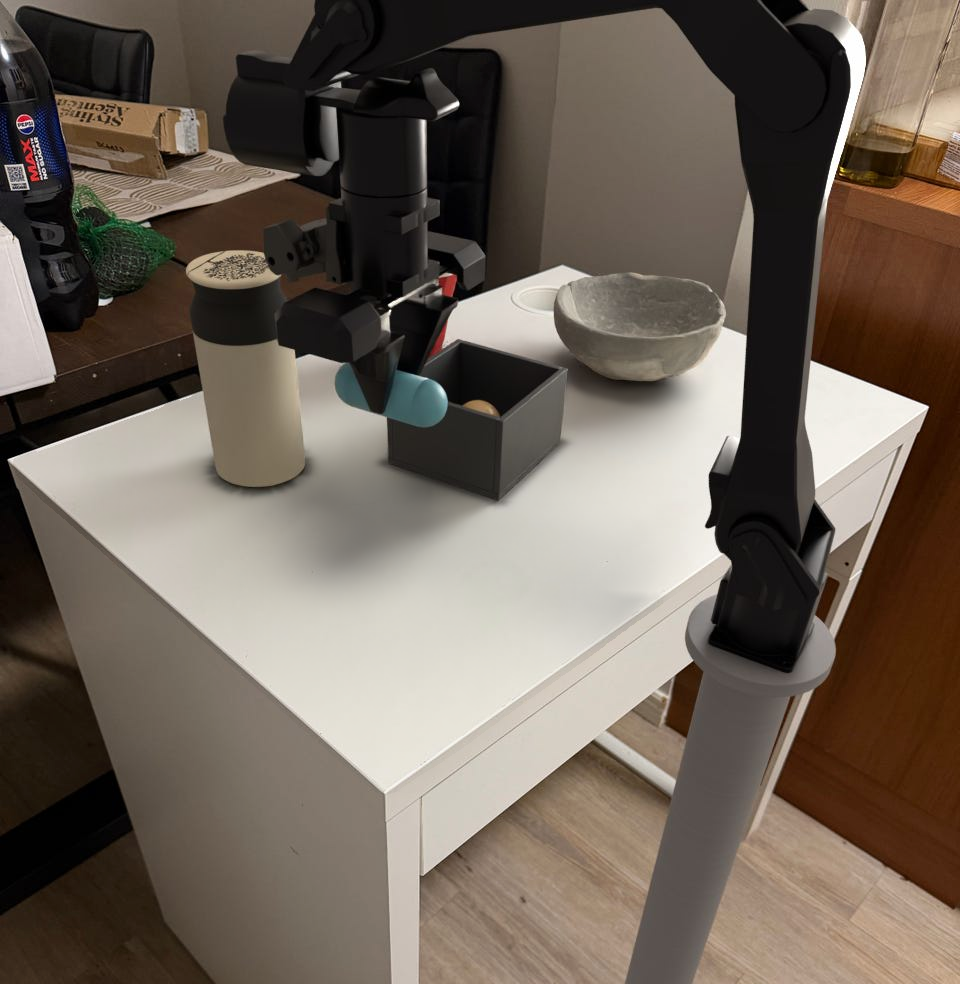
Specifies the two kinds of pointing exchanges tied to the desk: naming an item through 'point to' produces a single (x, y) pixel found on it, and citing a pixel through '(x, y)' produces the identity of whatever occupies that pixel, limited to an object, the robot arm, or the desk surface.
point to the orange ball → (482, 407)
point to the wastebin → (484, 419)
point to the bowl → (638, 324)
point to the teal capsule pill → (398, 397)
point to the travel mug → (245, 369)
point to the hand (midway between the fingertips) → (391, 402)
